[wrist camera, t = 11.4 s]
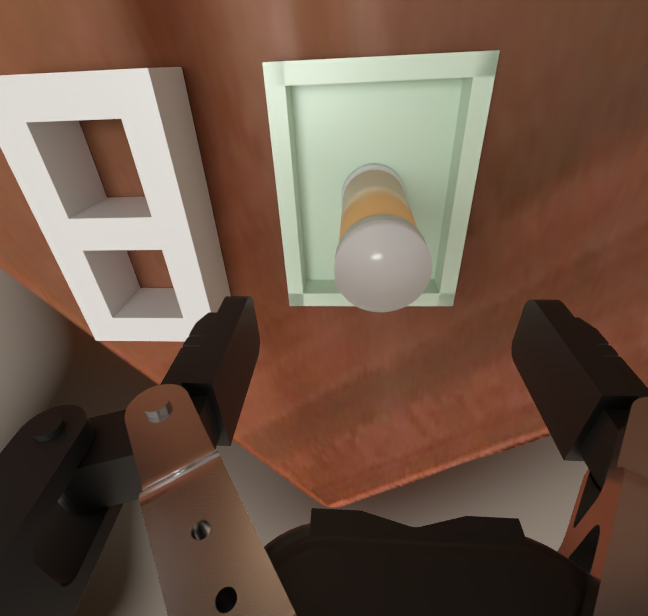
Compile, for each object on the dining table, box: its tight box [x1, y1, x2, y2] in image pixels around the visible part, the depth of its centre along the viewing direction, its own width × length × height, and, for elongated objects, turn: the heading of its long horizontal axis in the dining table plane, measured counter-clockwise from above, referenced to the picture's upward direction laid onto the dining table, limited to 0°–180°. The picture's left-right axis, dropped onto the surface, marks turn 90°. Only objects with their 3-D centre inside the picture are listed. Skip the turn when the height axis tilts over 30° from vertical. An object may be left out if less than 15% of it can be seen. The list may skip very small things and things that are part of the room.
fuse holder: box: [0, 67, 231, 341], centre depth 23 cm, size 16×9×4 cm, turn 2°
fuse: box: [334, 163, 432, 312], centre depth 19 cm, size 4×4×10 cm
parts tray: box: [262, 50, 500, 306], centre depth 22 cm, size 14×11×2 cm
